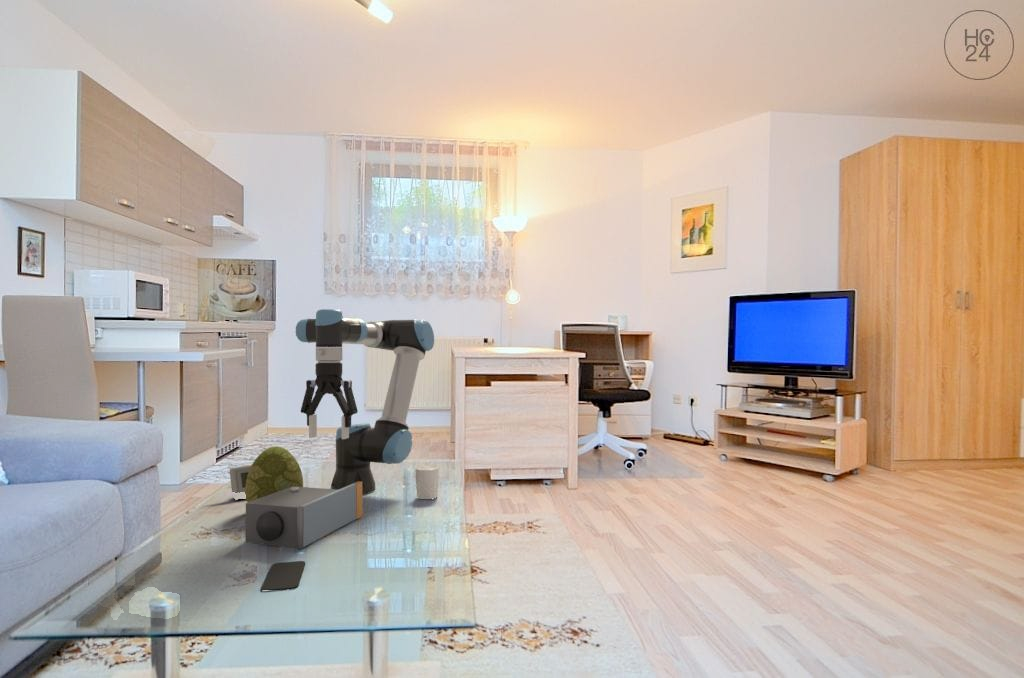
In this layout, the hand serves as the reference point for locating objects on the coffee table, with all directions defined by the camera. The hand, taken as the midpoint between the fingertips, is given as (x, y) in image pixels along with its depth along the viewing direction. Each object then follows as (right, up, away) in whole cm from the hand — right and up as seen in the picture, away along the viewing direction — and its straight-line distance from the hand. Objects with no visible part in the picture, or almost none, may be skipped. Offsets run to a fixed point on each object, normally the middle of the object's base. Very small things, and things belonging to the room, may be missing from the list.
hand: (328, 437), depth 168 cm
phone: (+4, -23, -43) cm, 49 cm away
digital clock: (-33, -25, +26) cm, 49 cm away
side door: (+5, -23, -13) cm, 27 cm away
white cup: (+25, -24, +24) cm, 42 cm away
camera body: (-5, -23, -14) cm, 27 cm away
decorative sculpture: (-19, -24, +7) cm, 31 cm away
